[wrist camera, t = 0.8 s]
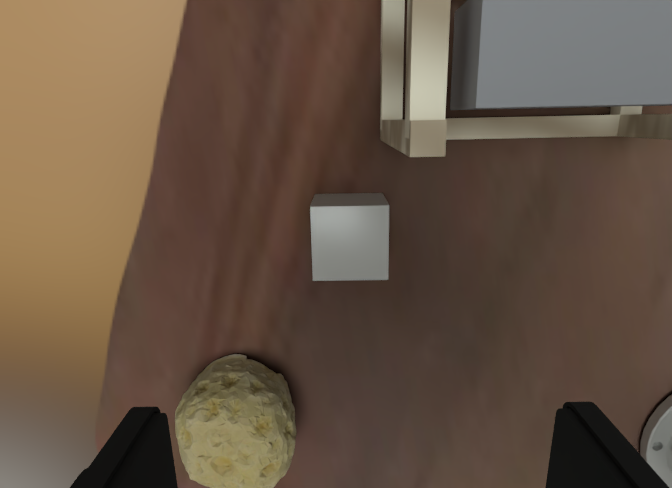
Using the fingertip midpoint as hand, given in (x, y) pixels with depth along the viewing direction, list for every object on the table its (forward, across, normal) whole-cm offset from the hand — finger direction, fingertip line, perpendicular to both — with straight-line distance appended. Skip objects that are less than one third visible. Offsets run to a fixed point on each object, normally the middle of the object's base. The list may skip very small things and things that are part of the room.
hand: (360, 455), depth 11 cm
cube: (+24, 0, 0) cm, 24 cm away
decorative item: (+24, +9, +15) cm, 30 cm away
